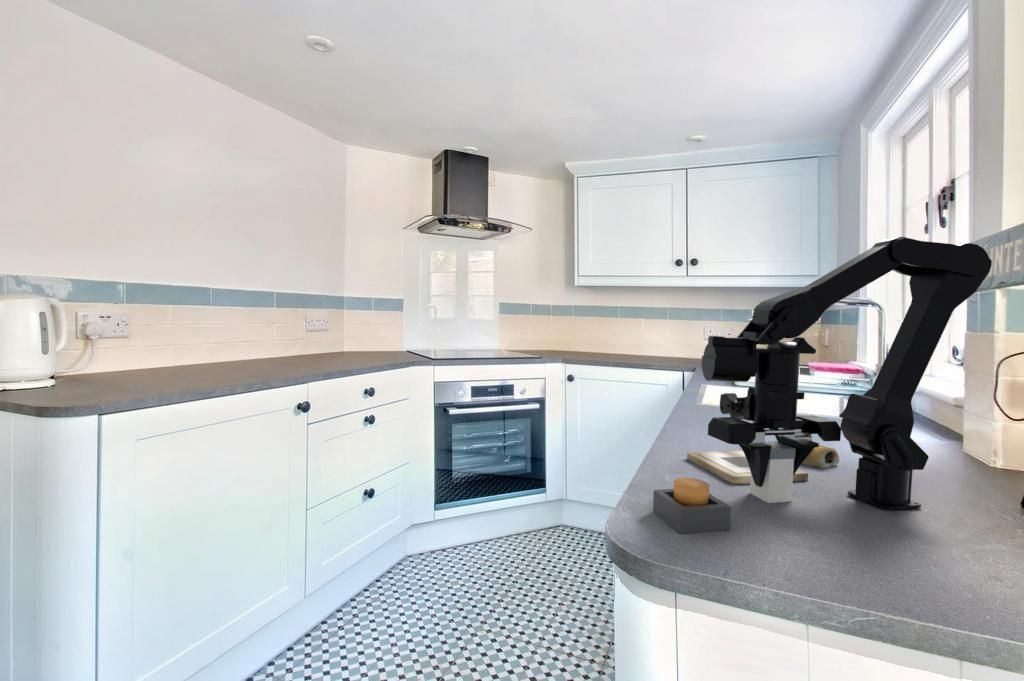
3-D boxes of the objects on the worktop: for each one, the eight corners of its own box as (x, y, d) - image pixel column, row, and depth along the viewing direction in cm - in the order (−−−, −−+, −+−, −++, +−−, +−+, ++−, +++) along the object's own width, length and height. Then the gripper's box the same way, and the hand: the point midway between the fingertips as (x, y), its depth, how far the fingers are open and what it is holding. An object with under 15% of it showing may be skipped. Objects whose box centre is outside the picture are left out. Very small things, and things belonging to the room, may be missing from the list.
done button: (696, 494, 68) (697, 477, 68) (715, 506, 64) (716, 488, 63) (667, 495, 67) (667, 478, 67) (684, 508, 63) (685, 489, 63)
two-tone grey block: (772, 491, 77) (775, 441, 77) (792, 501, 73) (795, 448, 72) (748, 492, 76) (751, 441, 76) (767, 503, 72) (770, 449, 72)
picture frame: (752, 456, 96) (752, 449, 96) (807, 480, 83) (808, 472, 83) (686, 458, 94) (687, 451, 94) (733, 484, 80) (733, 475, 80)
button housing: (698, 508, 69) (699, 487, 69) (729, 529, 63) (731, 506, 62) (653, 511, 68) (653, 489, 68) (679, 533, 61) (680, 509, 61)
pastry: (773, 456, 98) (774, 437, 98) (796, 453, 101) (797, 435, 100) (820, 470, 89) (821, 449, 89) (843, 466, 92) (844, 446, 92)
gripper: (790, 375, 83) (785, 466, 84) (689, 376, 80) (686, 470, 81) (846, 385, 72) (840, 489, 73) (733, 386, 69) (728, 495, 70)
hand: (770, 485), depth 74 cm, fingers closed on two-tone grey block, 4 cm apart
